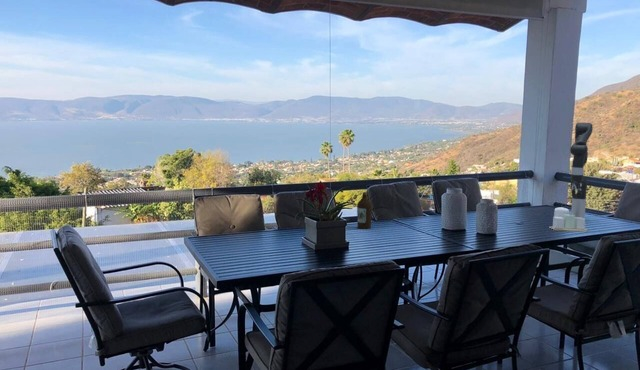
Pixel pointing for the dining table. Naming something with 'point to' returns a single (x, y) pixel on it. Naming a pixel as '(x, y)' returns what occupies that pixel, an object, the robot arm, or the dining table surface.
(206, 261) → the dining table surface
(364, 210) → the olive oil
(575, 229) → the rail board
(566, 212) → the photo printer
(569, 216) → the loose module
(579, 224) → the mounted modules
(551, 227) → the metal rail
